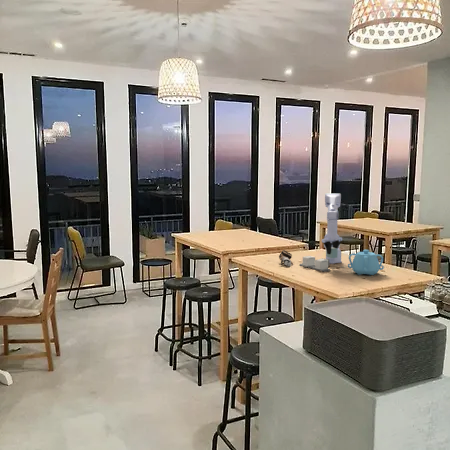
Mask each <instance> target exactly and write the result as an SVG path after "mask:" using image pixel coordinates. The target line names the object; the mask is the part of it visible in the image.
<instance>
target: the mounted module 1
mask: <svg viewBox="0 0 450 450" xmlns="http://www.w3.org/2000/svg"><path fill="white" fill-rule="evenodd" d="M315 260H316V256H312V255H306V256H302V263H303V265H305V266H312V265H315Z"/></svg>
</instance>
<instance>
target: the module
mask: <svg viewBox="0 0 450 450" xmlns="http://www.w3.org/2000/svg"><path fill="white" fill-rule="evenodd" d="M337 252H338V248H334V247H331V254H326V253H325V258H326V257H330V258H337Z"/></svg>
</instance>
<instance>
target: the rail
mask: <svg viewBox="0 0 450 450" xmlns="http://www.w3.org/2000/svg"><path fill="white" fill-rule="evenodd" d="M299 266H300V267H304V268H307V267H308V269H310V270H311V269H312V270H315V271H319V272H322V273H325V272H326V273H327V272H331V268H328V269H321V270H320V269H316V268H315V265H312V266H305V265H303V262H302V263H299Z"/></svg>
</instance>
